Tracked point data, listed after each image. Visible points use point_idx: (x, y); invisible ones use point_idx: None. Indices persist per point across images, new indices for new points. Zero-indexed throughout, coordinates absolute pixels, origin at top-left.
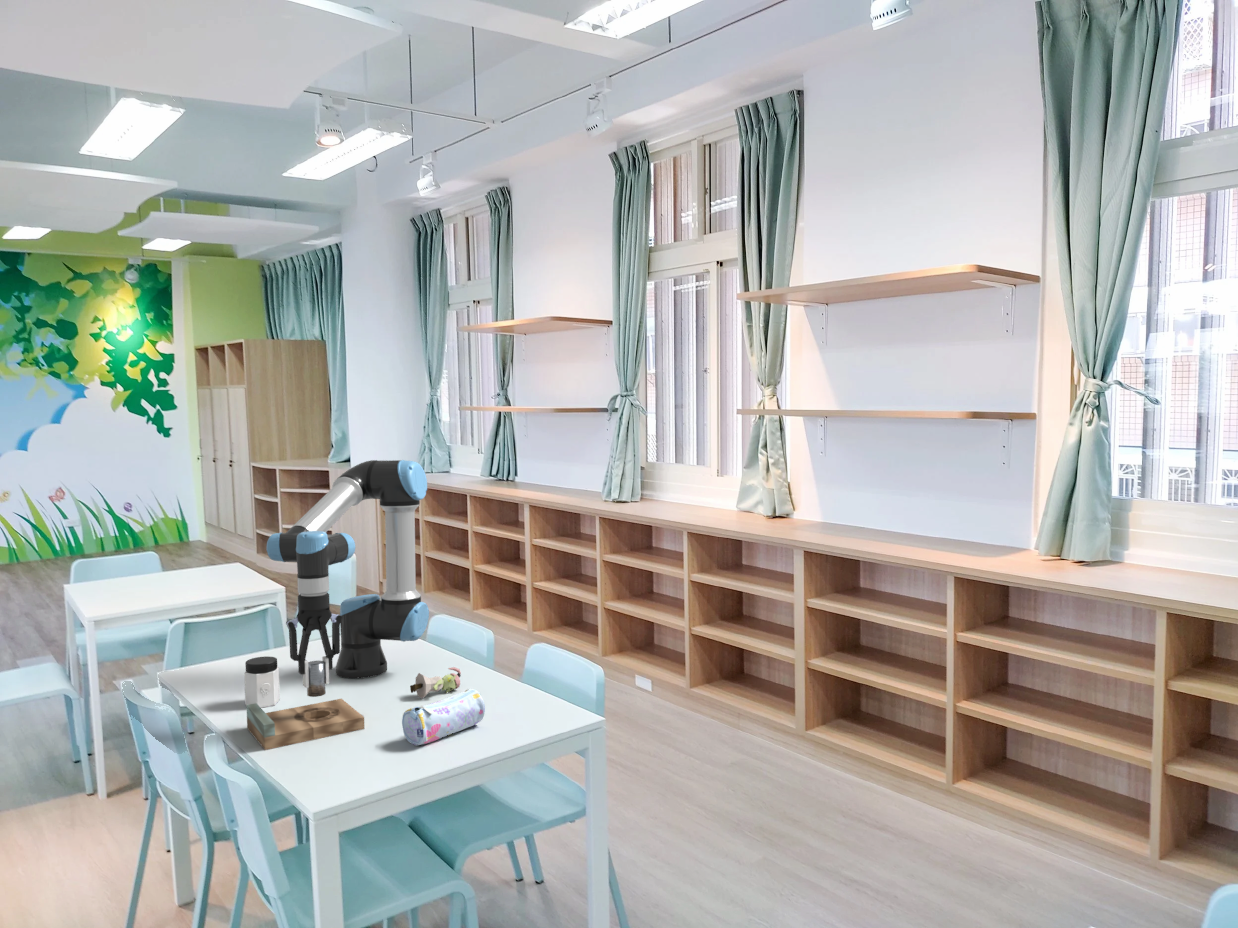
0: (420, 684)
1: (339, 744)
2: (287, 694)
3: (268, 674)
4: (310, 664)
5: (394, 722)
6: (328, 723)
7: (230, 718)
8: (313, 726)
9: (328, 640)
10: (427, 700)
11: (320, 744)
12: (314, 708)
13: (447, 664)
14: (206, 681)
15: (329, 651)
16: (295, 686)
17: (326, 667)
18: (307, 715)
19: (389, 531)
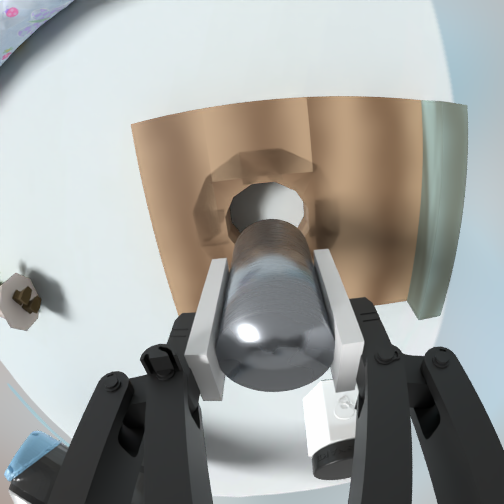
0: (14, 295)
1: (237, 25)
2: (281, 414)
3: (341, 436)
4: (315, 340)
5: (72, 143)
6: (250, 111)
7: (412, 346)
8: (303, 107)
9: (149, 482)
10: (21, 263)
11: (289, 50)
12: None
13: (37, 393)
14: None
15: (164, 398)
16: (259, 433)
17: (210, 312)
18: None
19: None
